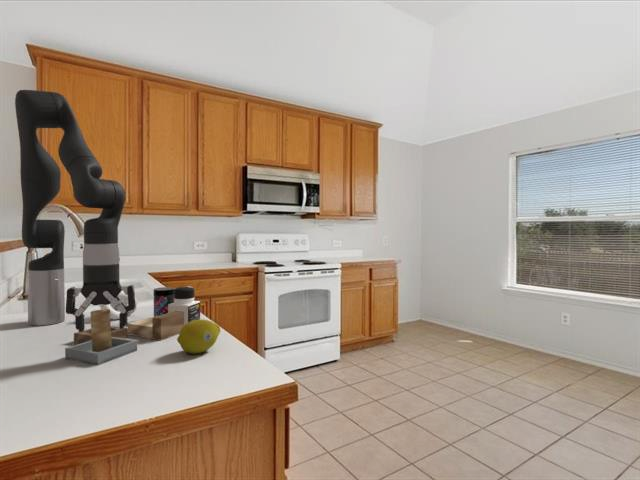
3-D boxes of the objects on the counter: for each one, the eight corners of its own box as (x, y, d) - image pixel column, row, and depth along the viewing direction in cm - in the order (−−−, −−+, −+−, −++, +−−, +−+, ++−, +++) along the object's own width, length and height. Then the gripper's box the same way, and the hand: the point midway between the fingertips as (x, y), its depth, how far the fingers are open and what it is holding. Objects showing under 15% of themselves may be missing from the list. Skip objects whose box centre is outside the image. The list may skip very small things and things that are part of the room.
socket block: (74, 342, 97) (73, 333, 97) (104, 333, 106) (104, 325, 106) (98, 346, 94) (98, 336, 94) (127, 336, 102) (127, 328, 102)
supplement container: (150, 319, 123) (150, 288, 123) (171, 316, 127) (171, 286, 127) (157, 323, 118) (156, 291, 118) (178, 319, 122) (178, 289, 122)
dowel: (90, 356, 85) (88, 313, 85) (94, 350, 89) (93, 309, 89) (109, 353, 87) (107, 312, 86) (113, 348, 90) (111, 308, 90)
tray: (65, 358, 85) (65, 348, 85) (106, 345, 95) (106, 335, 95) (98, 365, 81) (98, 353, 81) (137, 350, 91) (137, 340, 91)
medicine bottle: (188, 328, 112) (188, 289, 111) (167, 327, 113) (167, 288, 113) (200, 322, 119) (200, 286, 118) (180, 321, 120) (180, 285, 120)
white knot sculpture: (139, 312, 133) (139, 287, 133) (135, 319, 122) (135, 293, 122) (104, 314, 129) (103, 289, 129) (96, 322, 118) (96, 295, 118)
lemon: (181, 361, 84) (180, 326, 84) (172, 351, 90) (172, 319, 90) (226, 352, 90) (226, 320, 90) (215, 344, 97) (215, 314, 96)
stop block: (152, 339, 101) (152, 317, 100) (176, 330, 109) (175, 310, 109) (161, 340, 100) (160, 318, 99) (184, 331, 108) (184, 311, 108)
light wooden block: (127, 335, 105) (127, 323, 105) (150, 328, 113) (150, 317, 113) (153, 339, 101) (153, 327, 101) (175, 332, 109) (175, 320, 109)
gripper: (61, 264, 82) (62, 336, 82) (132, 263, 86) (132, 331, 87) (71, 261, 89) (72, 328, 89) (136, 260, 93) (137, 323, 94)
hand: (102, 329), depth 88 cm, fingers open, 8 cm apart
